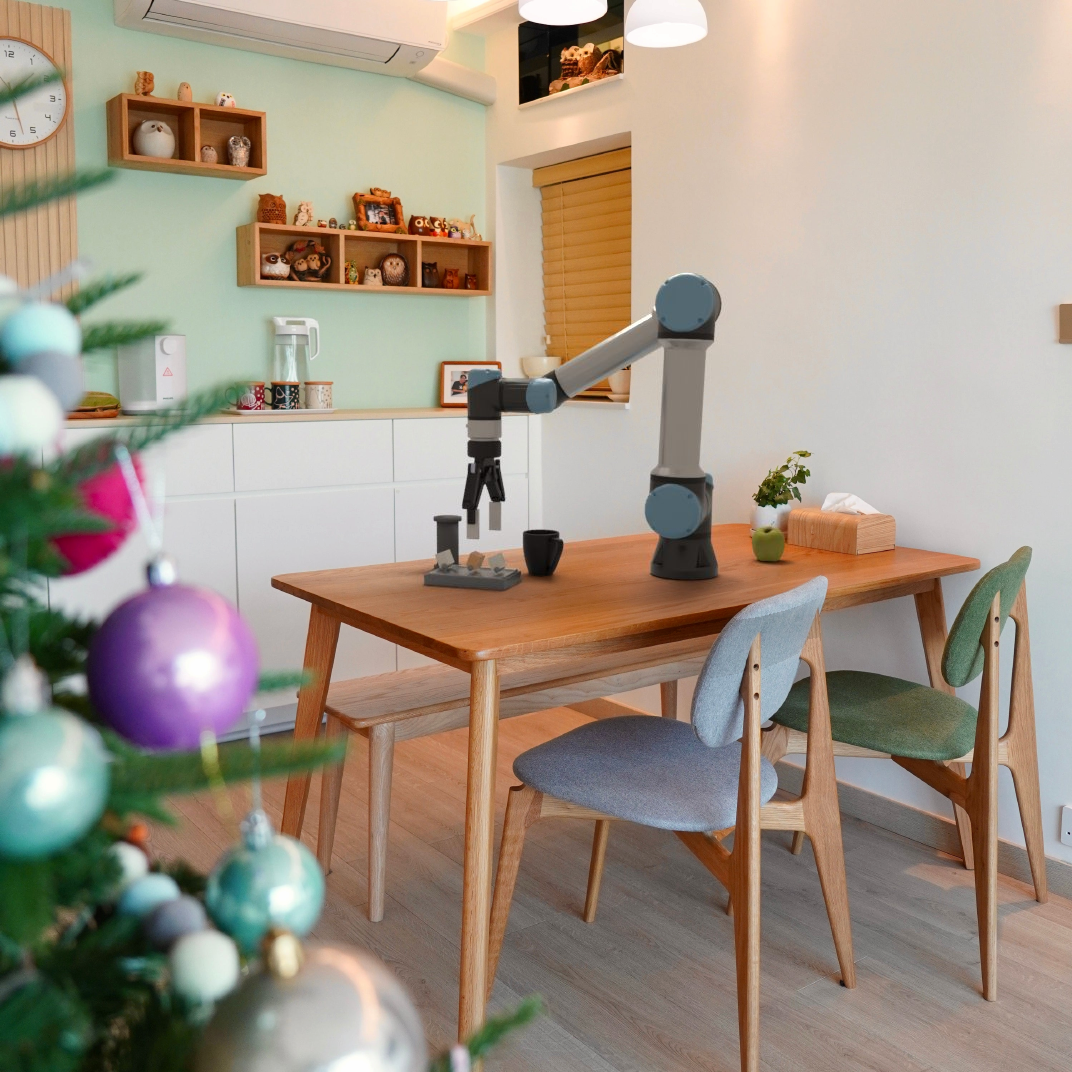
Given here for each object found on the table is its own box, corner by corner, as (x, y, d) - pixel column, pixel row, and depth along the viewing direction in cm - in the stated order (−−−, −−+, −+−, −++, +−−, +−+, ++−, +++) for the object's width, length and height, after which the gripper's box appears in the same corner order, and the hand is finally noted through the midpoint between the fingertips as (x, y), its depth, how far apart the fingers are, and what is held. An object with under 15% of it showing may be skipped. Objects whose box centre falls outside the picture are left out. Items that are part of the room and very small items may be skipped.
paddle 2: (508, 567, 228) (502, 552, 228) (502, 570, 224) (496, 554, 224) (498, 571, 229) (492, 555, 228) (492, 574, 225) (486, 558, 225)
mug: (544, 581, 231) (544, 538, 229) (515, 572, 241) (515, 530, 239) (575, 577, 235) (576, 535, 233) (546, 569, 245) (546, 528, 244)
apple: (764, 551, 264) (774, 515, 260) (786, 566, 258) (796, 528, 254) (740, 554, 260) (750, 517, 256) (762, 569, 254) (772, 531, 250)
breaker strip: (521, 580, 231) (521, 568, 231) (503, 590, 221) (503, 577, 220) (444, 575, 237) (444, 563, 236) (424, 584, 226) (424, 571, 226)
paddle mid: (480, 570, 230) (485, 555, 229) (473, 573, 226) (479, 558, 226) (470, 565, 230) (476, 550, 229) (464, 568, 227) (469, 553, 226)
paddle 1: (456, 564, 231) (450, 548, 231) (449, 567, 228) (443, 551, 228) (446, 567, 232) (440, 552, 232) (440, 570, 229) (434, 555, 229)
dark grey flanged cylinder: (466, 567, 247) (465, 515, 245) (455, 571, 241) (455, 519, 239) (440, 565, 249) (440, 514, 247) (429, 570, 243) (428, 518, 241)
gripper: (488, 435, 248) (488, 526, 251) (446, 442, 225) (446, 541, 228) (519, 436, 246) (518, 527, 249) (479, 443, 222) (479, 543, 225)
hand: (484, 534), depth 238 cm, fingers open, 13 cm apart
